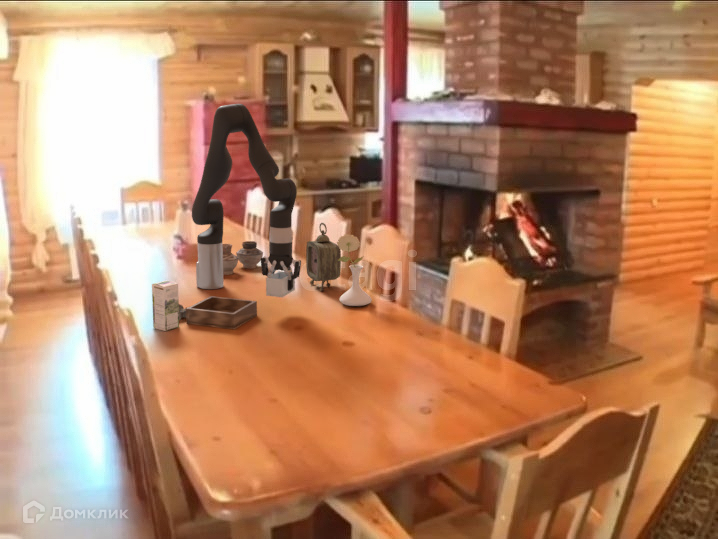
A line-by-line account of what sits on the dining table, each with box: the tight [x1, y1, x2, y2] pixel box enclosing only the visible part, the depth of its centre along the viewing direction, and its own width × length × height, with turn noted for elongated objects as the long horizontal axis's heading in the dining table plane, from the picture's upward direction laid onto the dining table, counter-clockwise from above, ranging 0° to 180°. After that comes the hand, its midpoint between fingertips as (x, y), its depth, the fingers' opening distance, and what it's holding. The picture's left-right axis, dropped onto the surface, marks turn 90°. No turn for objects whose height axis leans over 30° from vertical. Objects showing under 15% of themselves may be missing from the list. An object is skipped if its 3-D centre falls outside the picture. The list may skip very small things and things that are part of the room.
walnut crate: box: [185, 295, 258, 330], centre depth 239 cm, size 17×16×5 cm
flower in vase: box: [336, 234, 373, 307], centre depth 258 cm, size 13×11×25 cm
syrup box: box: [151, 280, 180, 332], centre depth 229 cm, size 6×6×14 cm
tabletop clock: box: [305, 222, 342, 292], centre depth 280 cm, size 14×9×25 cm, turn 23°
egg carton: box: [179, 303, 188, 321], centre depth 240 cm, size 11×8×4 cm
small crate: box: [265, 270, 296, 298], centre depth 246 cm, size 6×10×6 cm, turn 162°
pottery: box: [222, 240, 264, 276], centre depth 307 cm, size 11×25×12 cm, turn 148°
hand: (280, 288), depth 246 cm, fingers closed on small crate, 6 cm apart
